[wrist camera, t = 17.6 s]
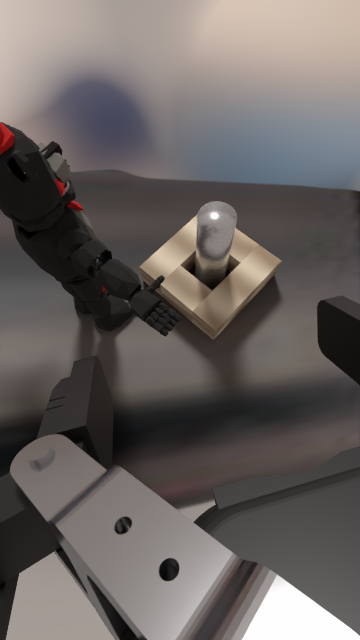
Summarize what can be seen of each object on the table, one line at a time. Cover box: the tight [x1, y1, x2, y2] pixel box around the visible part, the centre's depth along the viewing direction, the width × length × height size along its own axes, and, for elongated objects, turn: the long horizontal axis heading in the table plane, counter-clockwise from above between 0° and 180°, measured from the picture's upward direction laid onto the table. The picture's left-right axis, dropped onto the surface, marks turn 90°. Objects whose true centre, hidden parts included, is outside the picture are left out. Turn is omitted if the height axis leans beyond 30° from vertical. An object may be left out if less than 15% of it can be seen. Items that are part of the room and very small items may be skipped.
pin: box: [195, 201, 237, 291], centre depth 43 cm, size 4×4×14 cm
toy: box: [0, 122, 181, 336], centre depth 34 cm, size 30×8×30 cm, turn 50°
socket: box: [140, 214, 281, 340], centre depth 47 cm, size 14×14×4 cm
